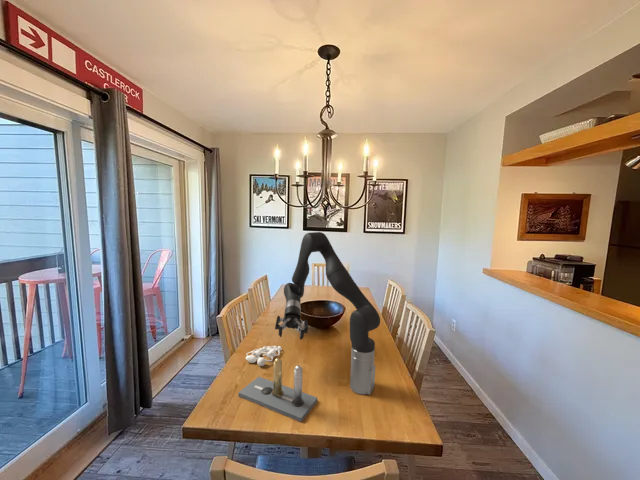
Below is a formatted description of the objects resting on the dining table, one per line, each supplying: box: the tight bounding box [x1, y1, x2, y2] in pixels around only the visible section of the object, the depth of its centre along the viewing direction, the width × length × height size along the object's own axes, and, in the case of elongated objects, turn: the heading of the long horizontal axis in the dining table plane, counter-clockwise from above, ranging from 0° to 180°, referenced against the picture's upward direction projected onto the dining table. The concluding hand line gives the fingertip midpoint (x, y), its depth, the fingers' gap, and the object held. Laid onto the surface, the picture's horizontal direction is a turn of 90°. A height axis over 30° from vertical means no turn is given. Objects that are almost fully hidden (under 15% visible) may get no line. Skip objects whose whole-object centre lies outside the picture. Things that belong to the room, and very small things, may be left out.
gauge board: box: [237, 376, 319, 423], centre depth 108 cm, size 28×12×2 cm, turn 63°
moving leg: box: [271, 357, 284, 397], centre depth 107 cm, size 4×3×14 cm
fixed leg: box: [293, 365, 303, 405], centre depth 103 cm, size 3×3×14 cm
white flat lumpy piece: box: [245, 345, 283, 367], centre depth 139 cm, size 19×14×4 cm
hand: (291, 336), depth 118 cm, fingers open, 8 cm apart
